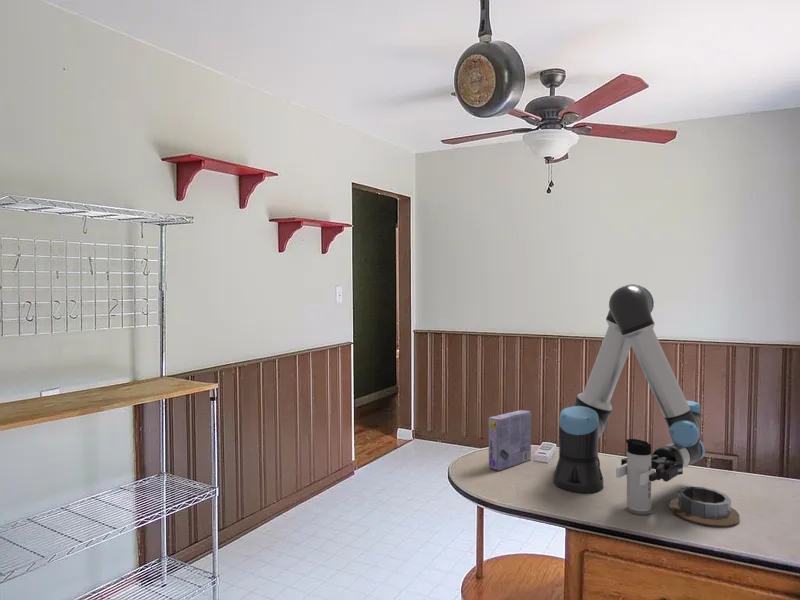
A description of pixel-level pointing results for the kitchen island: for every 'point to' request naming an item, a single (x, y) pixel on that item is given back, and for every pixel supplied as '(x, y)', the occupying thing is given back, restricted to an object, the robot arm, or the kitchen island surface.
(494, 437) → the cake pan box
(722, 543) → the kitchen island surface
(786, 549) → the kitchen island surface
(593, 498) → the kitchen island surface
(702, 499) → the ring collar
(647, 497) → the travel mug
